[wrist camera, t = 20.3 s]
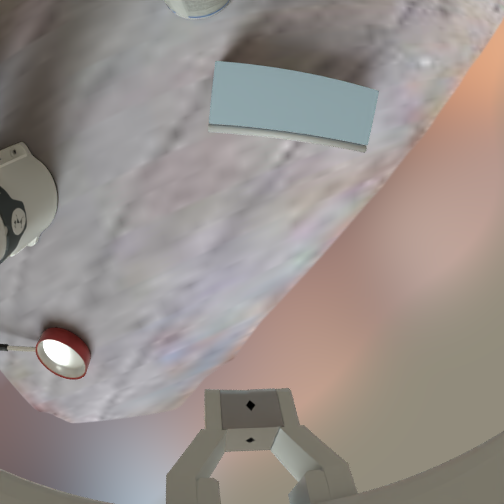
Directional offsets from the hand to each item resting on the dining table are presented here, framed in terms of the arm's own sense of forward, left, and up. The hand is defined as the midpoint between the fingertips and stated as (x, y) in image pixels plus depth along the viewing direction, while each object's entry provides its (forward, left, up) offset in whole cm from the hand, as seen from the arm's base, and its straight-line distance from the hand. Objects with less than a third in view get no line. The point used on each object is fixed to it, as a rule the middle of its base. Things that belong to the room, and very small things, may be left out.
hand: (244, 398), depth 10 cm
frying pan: (-43, -43, -40) cm, 72 cm away
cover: (+8, +10, -31) cm, 33 cm away
